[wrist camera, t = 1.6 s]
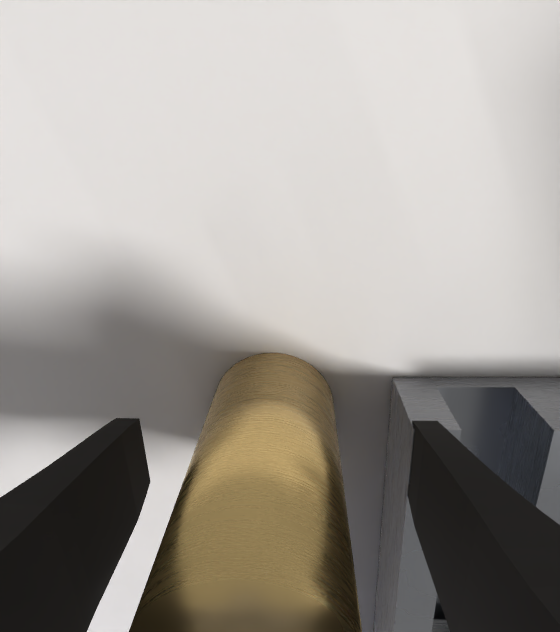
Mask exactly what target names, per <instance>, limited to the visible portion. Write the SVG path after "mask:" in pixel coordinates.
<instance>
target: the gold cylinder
mask: <svg viewBox="0 0 560 632" xmlns="http://www.w3.org/2000/svg"><path fill="white" fill-rule="evenodd" d="M129 632H362V628H361V620H360V612H359V604H358V596H357V588H356V580H355V572H354V564H353V556H352V548H351V540H350V533H349V525H348V517H347V509H346V501H345V493H344V485H343V477H342V469H341V461H340V453H339V445H338V437H337V429H336V421H335V413H334V405H333V398H332V394H331V391H330V388H329V386H328V384H327V382H326V380H325V379H324V378H323V376H322V375H321V374H320V373H319V372H318V371H317V370H316V369H315V368H314V367H313V366H311V365H310V364H308V363H307V362H305V361H303V360H301V359H299V358H297V357H294V356H290V355H286V354H281V353H263V354H258V355H254V356H251V357H248V358H246V359H243V360H241V361H240V362H238V363H236V364H235V365H234V366H233V367H231V368H230V369H229V370H228V371H227V372H226V373H225V375H224V376H223V378H222V379H221V381H220V383H219V385H218V387H217V390H216V393H215V396H214V398H213V401H212V404H211V407H210V410H209V412H208V415H207V418H206V421H205V423H204V426H203V429H202V432H201V434H200V437H199V440H198V443H197V445H196V448H195V451H194V454H193V456H192V459H191V462H190V465H189V467H188V470H187V473H186V476H185V478H184V481H183V484H182V487H181V490H180V492H179V495H178V498H177V501H176V503H175V506H174V509H173V512H172V514H171V517H170V520H169V523H168V525H167V528H166V531H165V534H164V536H163V539H162V542H161V545H160V547H159V550H158V553H157V556H156V558H155V561H154V564H153V567H152V570H151V572H150V575H149V578H148V581H147V583H146V586H145V589H144V592H143V594H142V597H141V600H140V603H139V605H138V608H137V611H136V614H135V616H134V619H133V622H132V625H131V627H130V630H129Z"/></svg>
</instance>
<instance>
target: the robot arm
mask: <svg viewBox="0 0 560 632" xmlns="http://www.w3.org/2000/svg"><path fill="white" fill-rule="evenodd" d="M412 424H413V426H414V429H415V435H414V445H413V455H412V465H411V474H410V484H409V494H408V499H409V504H410V509H411V513H412V518H413V522H414V526H415V529H416V533H417V536H418V539H419V542H420V545H421V548H422V551H423V554H424V557H425V559H426V562H427V565H428V568H429V571H430V574H431V577H432V580H433V583H434V586H435V589H436V592H437V595H438V598H439V600H440V603H441V606H442V609H443V612H444V615H445V618H446V621H447V624H448V627H449V631H450V632H560V525H559V524H558V523H557V522H555V521H554V520H553V519H551V518H550V517H548V516H547V515H546V514H544V513H543V512H542V511H541V510H539V509H538V508H537V507H535V506H534V505H533V504H532V503H530V502H529V501H528V500H527V499H525V498H524V497H523V496H522V495H520V494H519V493H518V492H516V491H515V490H514V489H513V488H512V487H510V486H509V485H508V484H507V483H506V482H504V481H503V480H502V479H501V478H500V477H499V476H497V475H496V474H495V473H494V472H493V471H492V470H491V469H489V468H488V467H487V466H486V465H485V464H484V463H483V462H482V461H480V460H479V459H478V458H477V457H476V456H475V455H474V454H473V453H472V452H471V451H470V450H468V449H467V448H466V447H465V446H464V445H463V444H462V443H461V442H460V441H459V440H458V439H457V438H456V437H455V436H453V435H452V434H451V433H450V432H449V431H448V430H447V429H446V428H445V427H444V426H443V425H442V424H440V423H439V422H438V421H412ZM149 484H150V477H149V471H148V465H147V460H146V454H145V449H144V443H143V437H142V432H141V426H140V420H139V419H136V418H116V419H114V420H113V421H111V422H110V423H108V424H107V425H105V426H104V427H102V428H101V429H99V430H98V431H97V432H95V433H94V434H92V435H91V436H90V437H88V438H87V439H85V440H84V441H83V442H81V443H80V444H78V445H77V446H76V447H74V448H73V449H71V450H70V451H69V452H67V453H66V454H64V455H63V456H62V457H60V458H59V459H57V460H56V461H55V462H53V463H52V464H50V465H49V466H47V467H46V468H45V469H43V470H42V471H40V472H39V473H37V474H36V475H34V476H32V477H31V478H29V479H28V480H26V481H25V482H23V483H22V484H20V485H19V486H17V487H16V488H14V489H13V490H11V491H10V492H8V493H7V494H5V495H4V496H2V497H0V632H87V630H88V627H89V625H90V623H91V620H92V618H93V616H94V613H95V611H96V609H97V607H98V604H99V602H100V600H101V598H102V596H103V594H104V592H105V590H106V587H107V585H108V583H109V581H110V579H111V577H112V575H113V573H114V570H115V568H116V566H117V564H118V562H119V560H120V558H121V556H122V553H123V551H124V549H125V547H126V545H127V543H128V541H129V538H130V536H131V534H132V532H133V530H134V527H135V525H136V523H137V521H138V518H139V515H140V512H141V509H142V506H143V504H144V500H145V497H146V494H147V491H148V487H149Z"/></svg>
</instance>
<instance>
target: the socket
mask: <svg viewBox="0 0 560 632" xmlns="http://www.w3.org/2000/svg"><path fill="white" fill-rule="evenodd" d="M412 421H438V422H439V423H440V424H442V425H443V426H444V427H445V428H446V429H447V430H448V431H449V432H450V433H451V434H452V435H453V436H455V437H456V438H457V439H458V440H459V441H460V442H461V443H462V444H463V445H464V446H465V447H466V448H467V449H468V450H470V451H471V452H472V453H473V454H474V455H475V456H476V457H477V458H478V459H479V460H480V461H482V462H483V463H484V464H485V465H486V466H487V467H488V468H489V469H491V470H492V471H493V472H494V473H495V474H496V475H497V476H499V477H500V478H501V479H502V480H503V481H504V482H506V483H507V484H508V485H509V486H510V487H512V488H513V489H514V490H515V491H516V492H518V493H519V494H520V495H522V496H523V497H524V498H525V499H527V500H528V501H529V502H530V503H532V504H533V505H534V506H535V507H537V508H538V509H539V510H541V511H542V512H543V513H544V514H546V515H547V516H548V517H550V518H551V519H553V520H554V521H555V522H557V523H558V524H559V525H560V377H455V378H392V391H391V405H390V418H389V431H388V445H387V458H386V471H385V485H384V498H383V511H382V525H381V538H380V551H379V565H378V578H377V591H376V605H375V618H374V631H373V632H432V626H433V619H438V620H446V618H445V615H444V612H443V609H442V606H441V603H440V600H439V598H438V595H437V592H436V589H435V586H434V583H433V580H432V577H431V574H430V571H429V568H428V565H427V562H426V559H425V557H424V554H423V551H422V548H421V545H420V542H419V539H418V536H417V533H416V529H415V526H414V522H413V518H412V513H411V509H410V504H409V499H408V494H409V484H410V474H411V465H412V455H413V445H414V435H415V429H414V426H413V424H412Z"/></svg>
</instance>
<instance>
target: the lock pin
mask: <svg viewBox="0 0 560 632" xmlns="http://www.w3.org/2000/svg"><path fill="white" fill-rule="evenodd" d="M432 632H450V631H449V627H448V624H447V621H446V620H438V619H433V626H432Z"/></svg>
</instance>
